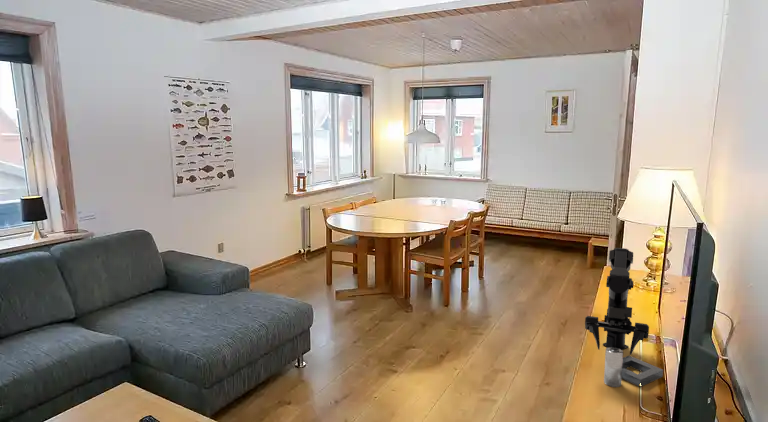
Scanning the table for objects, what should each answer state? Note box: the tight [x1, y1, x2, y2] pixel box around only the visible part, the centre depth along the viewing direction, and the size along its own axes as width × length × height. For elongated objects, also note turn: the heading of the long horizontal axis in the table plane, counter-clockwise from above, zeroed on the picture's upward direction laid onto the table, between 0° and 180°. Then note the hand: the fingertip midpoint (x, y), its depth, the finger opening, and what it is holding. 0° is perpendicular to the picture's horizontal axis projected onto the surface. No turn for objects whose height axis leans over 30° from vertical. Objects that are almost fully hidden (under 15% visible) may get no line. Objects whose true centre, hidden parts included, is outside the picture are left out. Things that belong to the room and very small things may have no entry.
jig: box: [622, 355, 664, 387], centre depth 160 cm, size 12×12×2 cm
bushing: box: [603, 347, 624, 388], centre depth 154 cm, size 5×5×11 cm
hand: (614, 351), depth 155 cm, fingers open, 9 cm apart
